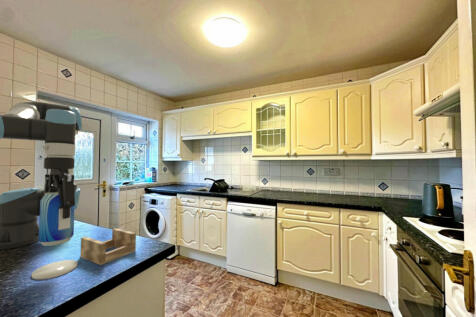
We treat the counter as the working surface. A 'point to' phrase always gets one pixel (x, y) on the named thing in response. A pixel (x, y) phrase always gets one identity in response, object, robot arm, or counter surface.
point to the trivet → (54, 269)
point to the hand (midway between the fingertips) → (57, 226)
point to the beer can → (53, 221)
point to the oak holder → (97, 249)
